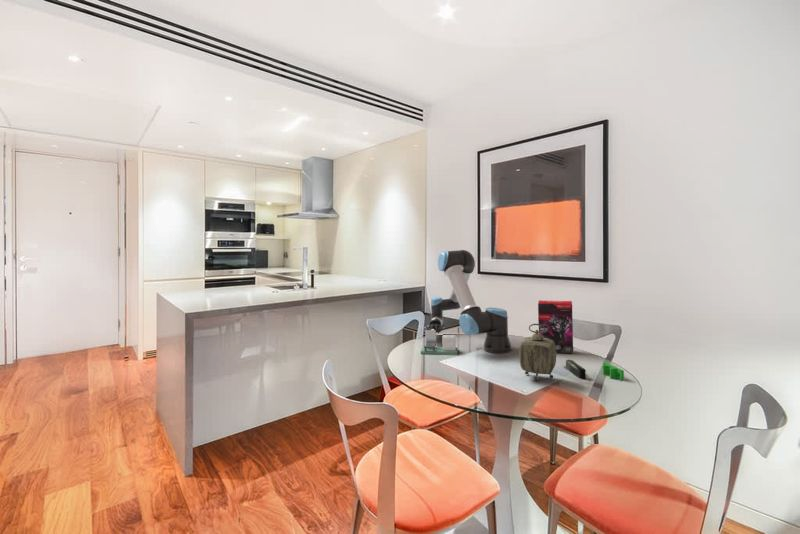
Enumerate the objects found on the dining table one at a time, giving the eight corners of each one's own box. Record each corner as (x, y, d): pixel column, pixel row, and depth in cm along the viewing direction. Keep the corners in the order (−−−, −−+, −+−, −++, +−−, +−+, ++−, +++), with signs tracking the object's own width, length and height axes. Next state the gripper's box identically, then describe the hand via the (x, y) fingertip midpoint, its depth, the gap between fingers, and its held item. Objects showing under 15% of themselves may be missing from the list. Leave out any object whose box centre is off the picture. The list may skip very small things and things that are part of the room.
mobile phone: (587, 368, 166) (568, 356, 180) (580, 369, 165) (562, 357, 180) (586, 379, 166) (568, 366, 181) (580, 380, 166) (562, 367, 181)
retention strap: (436, 347, 217) (435, 330, 216) (435, 349, 213) (435, 331, 212) (426, 347, 218) (425, 329, 217) (425, 349, 214) (424, 331, 213)
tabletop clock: (556, 377, 169) (556, 322, 166) (553, 385, 161) (552, 327, 159) (523, 373, 176) (522, 320, 174) (518, 380, 168) (517, 324, 166)
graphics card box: (538, 352, 204) (537, 302, 202) (539, 348, 211) (538, 299, 208) (573, 354, 198) (573, 303, 195) (572, 350, 204) (572, 300, 202)
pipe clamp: (598, 372, 173) (598, 362, 173) (605, 371, 174) (605, 361, 173) (616, 381, 162) (616, 371, 162) (623, 380, 163) (623, 370, 162)
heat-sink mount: (457, 349, 215) (457, 334, 214) (457, 354, 207) (456, 338, 206) (422, 349, 219) (422, 334, 218) (420, 353, 211) (420, 338, 210)
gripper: (446, 329, 244) (443, 340, 221) (426, 329, 246) (420, 340, 223) (445, 318, 243) (442, 328, 220) (425, 318, 245) (420, 328, 222)
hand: (431, 334), depth 222 cm, fingers closed
